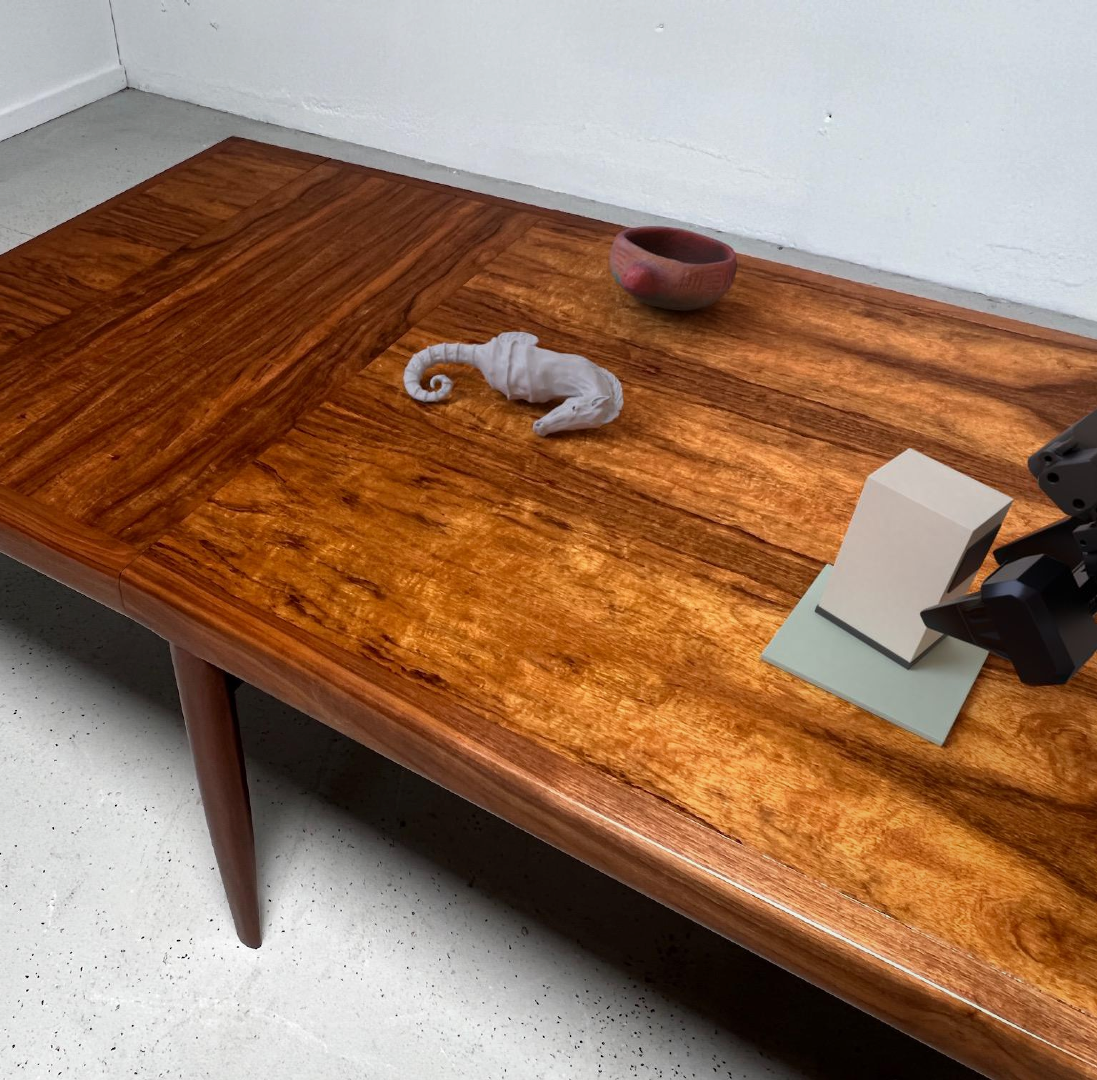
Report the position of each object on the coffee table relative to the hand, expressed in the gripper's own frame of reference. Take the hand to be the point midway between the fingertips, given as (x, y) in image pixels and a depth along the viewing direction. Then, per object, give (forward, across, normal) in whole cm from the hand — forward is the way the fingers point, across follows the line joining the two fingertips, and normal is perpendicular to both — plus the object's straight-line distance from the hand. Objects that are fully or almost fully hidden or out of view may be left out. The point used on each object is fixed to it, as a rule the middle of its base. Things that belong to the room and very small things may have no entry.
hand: (960, 587), depth 68 cm
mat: (+7, +2, +3) cm, 7 cm away
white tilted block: (+7, 0, +2) cm, 7 cm away
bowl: (+35, -26, -26) cm, 51 cm away
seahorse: (+34, -1, -24) cm, 41 cm away
